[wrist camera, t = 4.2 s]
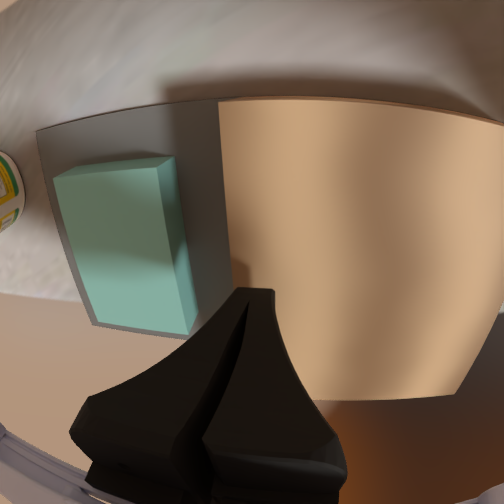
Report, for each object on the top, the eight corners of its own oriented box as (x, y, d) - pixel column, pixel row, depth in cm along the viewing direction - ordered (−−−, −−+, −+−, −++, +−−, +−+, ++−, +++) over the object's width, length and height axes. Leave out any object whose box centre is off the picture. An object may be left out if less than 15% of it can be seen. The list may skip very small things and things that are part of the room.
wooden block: (496, 121, 11) (546, 139, 7) (439, 345, 17) (454, 394, 14) (242, 97, 12) (218, 102, 9) (255, 343, 19) (244, 394, 16)
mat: (242, 97, 12) (240, 97, 12) (255, 343, 19) (254, 346, 19) (38, 130, 14) (35, 131, 14) (94, 322, 21) (92, 325, 21)
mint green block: (52, 178, 13) (75, 166, 15) (98, 321, 18) (112, 302, 19) (156, 167, 12) (174, 155, 14) (188, 334, 17) (198, 311, 18)
